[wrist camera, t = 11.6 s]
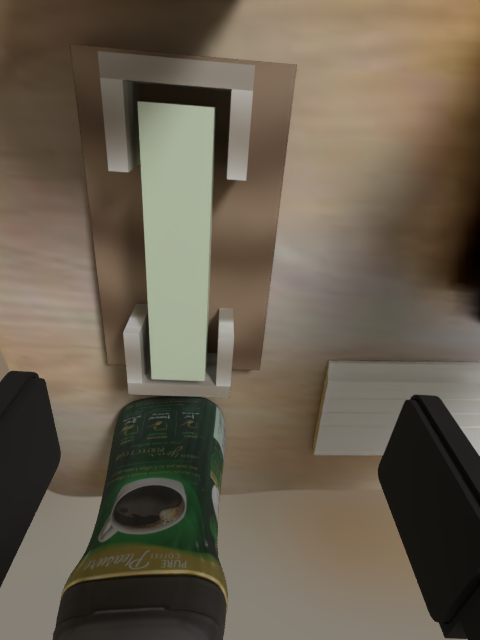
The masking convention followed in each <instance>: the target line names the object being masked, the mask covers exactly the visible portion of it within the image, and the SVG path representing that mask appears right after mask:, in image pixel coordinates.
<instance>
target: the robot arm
mask: <svg viewBox="0 0 480 640" xmlns="http://www.w3.org/2000/svg"><path fill="white" fill-rule="evenodd" d="M60 457H61V451H60V446H59V441H58V437H57V432H56V428H55V423H54V418H53V414H52V409H51V405H50V400H49V396H48V391H47V386H46V382H45V380H44V379H42V378H39V376H38V374H37V373H35V372H22V371H10V372H9V373H7V375H6V376H5V377H4V378H3V379H2V380H1V382H0V587H1V584H2V582H3V580H4V578H5V576H6V574H7V572H8V570H9V568H10V566H11V564H12V562H13V559H14V557H15V555H16V553H17V551H18V549H19V547H20V545H21V543H22V541H23V538H24V536H25V534H26V532H27V530H28V528H29V526H30V524H31V522H32V520H33V517H34V515H35V513H36V511H37V509H38V507H39V505H40V503H41V500H42V499H43V496H44V494H45V492H46V490H47V488H48V486H49V484H50V482H51V480H52V478H53V476H54V473H55V471H56V469H57V467H58V465H59V462H60ZM378 477H379V481H380V484H381V486H382V489H383V492H384V494H385V497H386V499H387V502H388V505H389V508H390V510H391V513H392V516H393V518H394V521H395V523H396V526H397V529H398V532H399V534H400V537H401V539H402V542H403V545H404V547H405V550H406V553H407V555H408V558H409V561H410V563H411V566H412V569H413V571H414V574H415V577H416V579H417V582H418V585H419V587H420V590H421V592H422V595H423V598H424V600H425V603H426V606H427V609H428V611H429V613H430V616H431V617H432V618H433V620H434V621H435V622H439V624H440V627H441V629H442V632H443V634H444V637H445V638H459V639H461V638H462V639H468V640H480V456H479V455H478V453H477V452H476V450H475V449H474V447H473V446H472V444H471V443H470V441H469V440H468V438H467V437H466V435H465V434H464V433H463V431H462V430H461V428H460V427H459V425H458V424H457V422H456V421H455V419H454V418H453V416H452V415H451V413H450V412H449V410H448V409H447V408H446V406H445V405H444V403H443V402H442V400H441V399H440V398H439V397H438V396H433V395H413V396H412V397H411V398H410V400H406V401H405V402H404V404H403V406H402V409H401V411H400V414H399V416H398V419H397V422H396V424H395V427H394V429H393V432H392V434H391V437H390V439H389V442H388V444H387V447H386V449H385V452H384V454H383V457H382V459H381V462H380V464H379V467H378Z"/></svg>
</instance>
